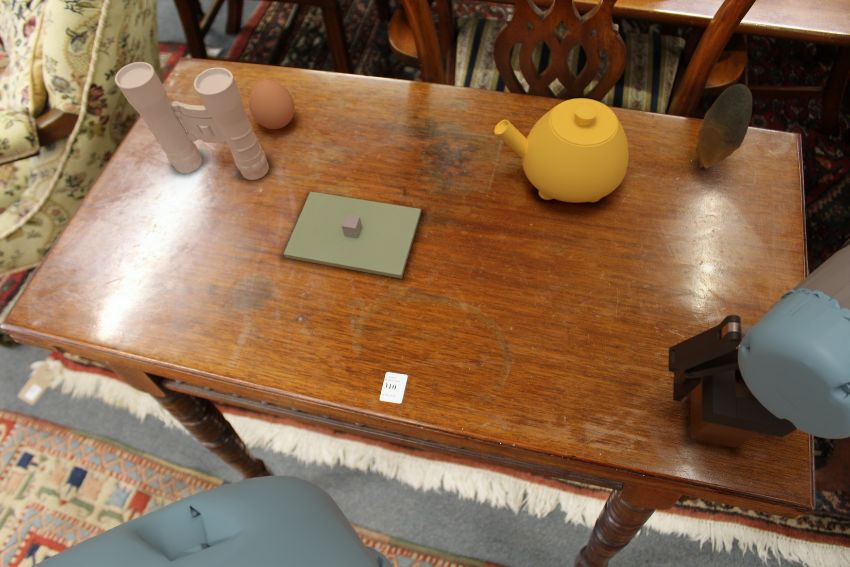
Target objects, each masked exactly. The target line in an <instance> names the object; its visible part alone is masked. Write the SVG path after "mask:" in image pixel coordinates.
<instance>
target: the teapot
mask: <svg viewBox="0 0 850 567" xmlns="http://www.w3.org/2000/svg"><path fill="white" fill-rule="evenodd" d="M493 132H494V134H495V135H496V136H498V138H499V139H501V140H502V141H503V143H505V144H506V145H507V146H508V147H509V148H510V149H512V150H513V151H514V152H515V153H516V154H517V155H518V156H519V157H520V158H521V165H522V169H523V172H524V174H525V176H526V178H527V180H528V181H529V183H530V184H531V185H532V186H533V187H534V188H535V189H537V190H538V195H539V197H540V198H541V199H543V200H545V201H548V200H549V201H551V200H553V199H554V200H557V201H561V202H564V203H565V202H566V203H588V202H589V203H596V202H599V201H600V200H601V199H602V198H604V197H607V196H608V195H609V194H611V193H613V192H614V191H615V190H616V189H617V188H618V187H619V186H620V184H622V183H623V180H624V178H625V176H626V173H627V170H628V167H629V159H630V156H629V155H630V154H629V153H630V152H629V148H630V147H629V143H628V138H627V135H626V133H625V130H624V128H623V125H622V123H621V122H620V120H619V118H618V116H617V115H616V113H615V112H614V111H613V110H612V109H611V108H610V107H609V106H608V105H606V104H604V103H602V102H600V101H598V100H595V99H590V98H583V97H582V98H571V99H567V100H565V101H562V102H560V103H559V104H557V105H555V106H553V108H551V109H550V110H548V111H546V113H545V114H543V115H542V116H541V117H540V118H539V119H538V120H537V121H536V123H535V124H534V125H533V126H532V128H531V129H530V131H529V133H528V135H527V136H524V134H522V133H521V132H520V130H518V128H516V127H515V126H514V124H512V123H511V122H510V121H509V120H508V119H502V120H500V121H499V122H498V123H497V124H496V125H495V126H494V130H493Z"/></svg>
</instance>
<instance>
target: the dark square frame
mask: <svg viewBox="0 0 850 567" xmlns="http://www.w3.org/2000/svg"><path fill="white" fill-rule="evenodd" d="M735 378H737V379H742V380H744V379H743V377H742V375H741V372H740V369H737V370H732V371H727V372H722V373H717V374H712V375H707V376H702V421H704V422H709V423H714V424H719V425H724V426H728V427H733V428H738V429H743V430H748V431H753V432H758V433H759V434H764V435H768V436H772V437H773V436H774V437H778V438H783V437H785V436H787V435H789V434H791V433H793V432H796V431H797V430H798V429H797V428H796V427H795V426H794V424H793V423H792V422H791V421H789V420H787V419H780V418H777V417H776V416H775V415H774V414H772V413H771V412H770V411H769V410H767V409H766V408H765V407H764V406H763V405H762V404H761V403H760V402H759V401H758V400H757V401H756V400H751V399H746V398H740V397H736V388H735Z"/></svg>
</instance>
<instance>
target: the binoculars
mask: <svg viewBox="0 0 850 567" xmlns="http://www.w3.org/2000/svg"><path fill="white" fill-rule="evenodd" d="M114 82H115V84H116V86H117V87H118V88H119V90H120V91H121V93H122V94H123V96H124V98H125V99H126V100H127V102H128V103H129V104H130V106H131V107H132V108H133V109H134V110H135V112H137V113H138V115H140V117H141V118H142V119H143V121H144V123H145V124H146V125H147V127H148V130H149V132H150V133H152V134H153V136H154V137H155V140H156V142H157V143H158V144H159V146H160V147H161V149H162V150H163V152H164V154H165V155H166V158H167V160H168V162H169V163H170V164H171V165H172V166H173V167H174V169H175V170H176V171H177V172H178V173H180V174H189V173H190V174H191V173H193V172H195V171H197V170H198V169H199V168H200V167H201V165H202V164H203V157H202V155H201V153H200V150H199V148H198V146H197V144H195V142H197V141H198V140H200V141H202V142H204V143H209V144H224V143H225V144H226V146H227V147H228V150H229V151H230V152H231V153H230V154H231V156H232V158H233V160H234V164H235V167H236V168H237V170H238V171H239V172H240V174H241V175H242V177H243V178H244V179H246V180H250V181H253V180H255V181H256V180H259V179H261V178H263V177H265V176H266V175H267V173H268V171H269V169H270V166H269V163H268V160H267V155H266V153H265V151H264V150H263V149H262V146H261V144H260V143H259V140H258V137H257V134H256V133H255V131H254V130H253V126H252V123H251V122H250V120H249V117H248V116H247V113H246V110H245V105H244V102H243V98H242V94H241V92H240V89H239V86H238V84H237V82H236V80H235V78H234V74H233V73H232V71H231V70H229V69H228V68H225V67H220V66H219V67H211V68H208V69H204V70H203V71H201V72H200V73H199V74H198V75H196V77H195V78H194V81H193V88H194V90H195V91H196V93H197V95H198V97H199V99H200V101H201V103H202V105H198V104H197V105H196V104H188V103H184V102H179V100H174V101H172V102H171V101H170V99H169V97H168V94H167V91H166V89H165V86H164V85H163V83H162V81H161V79H160V78H159V76H158V74H157V72H156V71H155V68H154V66H153V65H152V64H150V63H148V62H144V61H136V62H135V61H134V62H131V63H128V64H126V65H124V66H122V67H121V68H119V70H118V71H117V73H116V74H115V76H114Z"/></svg>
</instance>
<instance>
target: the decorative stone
mask: <svg viewBox="0 0 850 567" xmlns="http://www.w3.org/2000/svg"><path fill="white" fill-rule="evenodd" d="M752 112H753V94H752V92H751V90H750V88H749V87H747V85H745V84H743V83H736V84H734V85H729V86H728V87H726V89H724V90H723V91H722V92H721V93H720V94H719V96H718V97H717V98H716V99H715V101H714V102H713V103H712V105H711V107H709V108H708V110H707V111H706V112H705V115H704V117H703V121H702V124H701V126H700V128H699V129H698V133H697V143H696V148H695V152H696V155H697V157H698V163H699V164H698V165H699V168H704V169H705V170H706V169H709V168H710V167H713V166H714V165H716V164H718V163H720V162H722V161H724V160H726V159H727V158H729V157H730V156H732V154H733V153H734V152H735V151H737V150H738V149H740V148H741V146H742V144H743V142H744V141H745V138H746V135H747V133H748V130H749V126H750V123H751V119H752Z"/></svg>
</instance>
